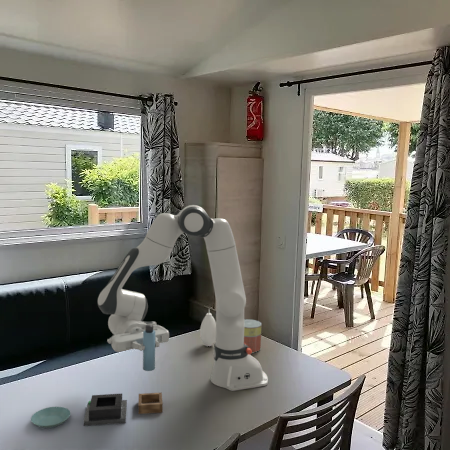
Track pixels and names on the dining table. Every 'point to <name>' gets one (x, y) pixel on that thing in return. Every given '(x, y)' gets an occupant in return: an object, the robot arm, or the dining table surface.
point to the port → (105, 410)
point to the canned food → (252, 334)
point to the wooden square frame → (150, 403)
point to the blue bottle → (149, 348)
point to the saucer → (50, 417)
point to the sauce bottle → (208, 330)
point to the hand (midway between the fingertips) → (150, 346)
